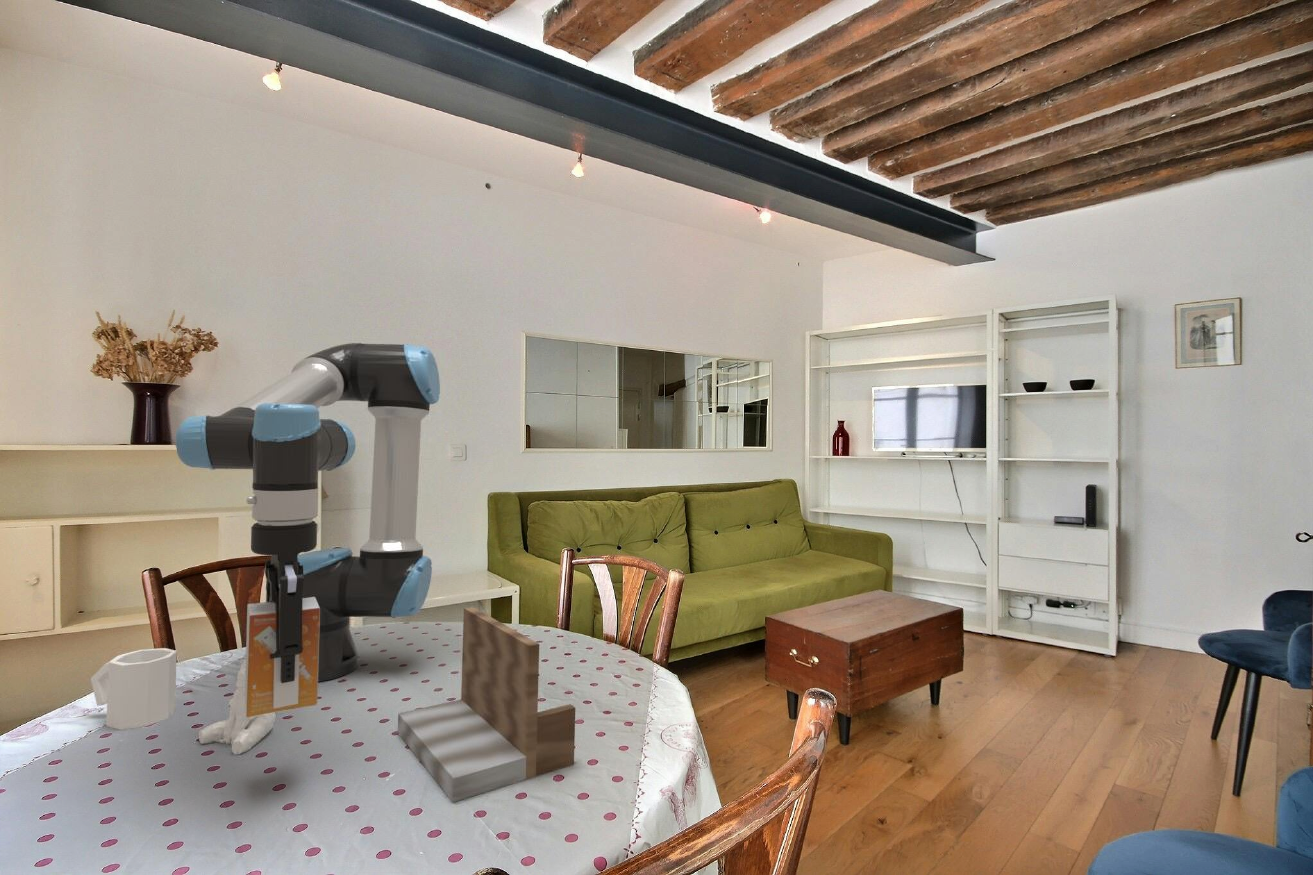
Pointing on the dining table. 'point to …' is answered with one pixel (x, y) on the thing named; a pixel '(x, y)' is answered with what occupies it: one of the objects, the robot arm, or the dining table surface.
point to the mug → (137, 688)
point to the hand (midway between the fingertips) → (281, 695)
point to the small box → (262, 666)
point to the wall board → (491, 717)
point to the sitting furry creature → (239, 723)
